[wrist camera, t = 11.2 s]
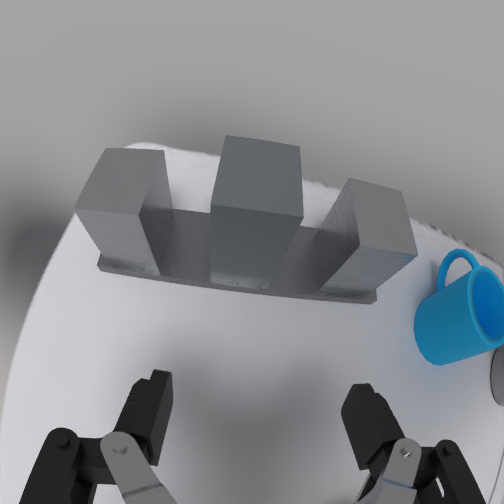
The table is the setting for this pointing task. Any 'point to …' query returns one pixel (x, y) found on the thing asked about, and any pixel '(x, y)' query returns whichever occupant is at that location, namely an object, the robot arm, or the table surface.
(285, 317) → the table surface
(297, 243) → the rail
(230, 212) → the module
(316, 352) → the table surface
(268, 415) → the table surface
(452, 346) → the mug
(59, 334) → the table surface
